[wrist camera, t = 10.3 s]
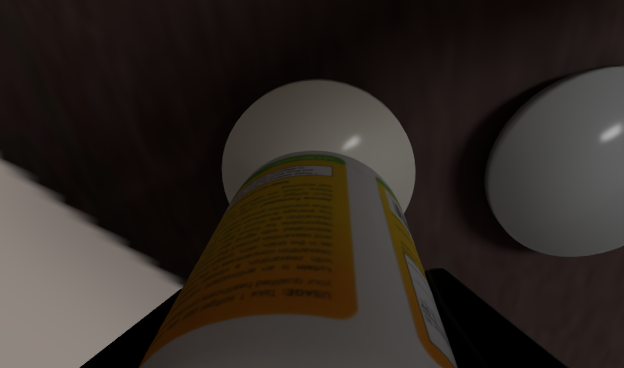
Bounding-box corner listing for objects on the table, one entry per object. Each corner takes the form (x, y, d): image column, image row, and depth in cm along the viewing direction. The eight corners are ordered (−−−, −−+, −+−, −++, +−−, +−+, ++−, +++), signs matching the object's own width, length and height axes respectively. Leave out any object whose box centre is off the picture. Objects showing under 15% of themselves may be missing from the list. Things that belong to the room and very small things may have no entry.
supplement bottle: (206, 251, 12) (-144, 896, 3) (276, 111, 10) (-213, 904, 1) (346, 314, 13) (372, 966, 4) (438, 198, 11) (926, 1046, 2)
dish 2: (708, 48, 13) (745, 51, 12) (655, 231, 16) (679, 248, 15) (484, 78, 14) (498, 83, 13) (475, 247, 17) (485, 263, 16)
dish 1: (406, 63, 14) (412, 67, 13) (411, 235, 17) (417, 251, 16) (210, 90, 15) (199, 96, 14) (250, 249, 18) (245, 266, 17)
